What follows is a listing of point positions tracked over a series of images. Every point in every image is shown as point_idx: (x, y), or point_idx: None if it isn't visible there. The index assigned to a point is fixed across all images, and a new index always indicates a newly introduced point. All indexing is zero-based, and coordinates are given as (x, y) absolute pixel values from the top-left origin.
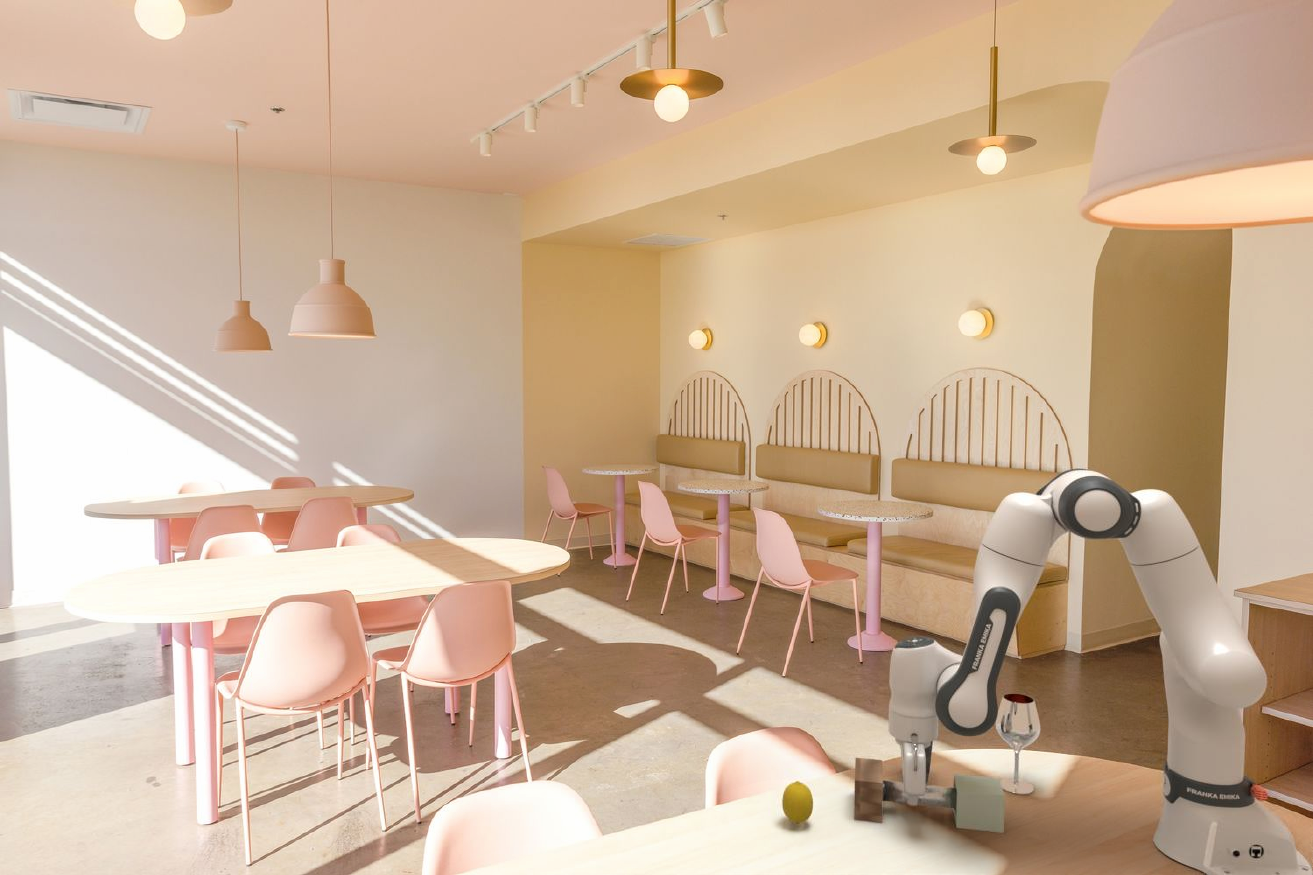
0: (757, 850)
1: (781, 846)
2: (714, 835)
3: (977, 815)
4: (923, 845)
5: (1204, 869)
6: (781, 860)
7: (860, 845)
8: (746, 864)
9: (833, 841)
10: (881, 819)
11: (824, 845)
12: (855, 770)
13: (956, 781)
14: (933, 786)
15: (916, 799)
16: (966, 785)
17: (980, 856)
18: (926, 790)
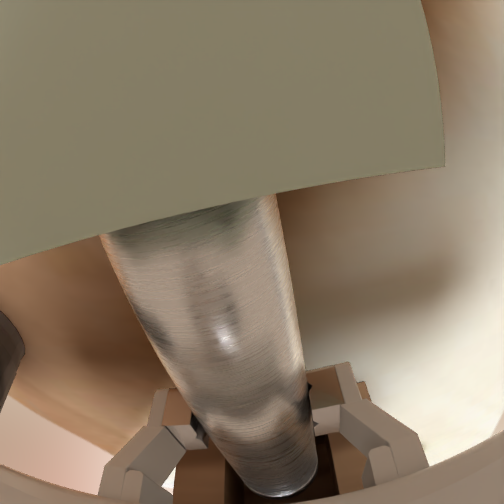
0: (466, 444)
1: (460, 437)
2: None
3: None
4: (485, 245)
5: None
6: (493, 419)
7: (474, 373)
8: (492, 432)
9: (455, 409)
10: (367, 392)
11: (466, 410)
12: None
13: (88, 219)
14: (219, 377)
15: (357, 386)
16: (161, 22)
17: (501, 42)
18: (280, 390)
